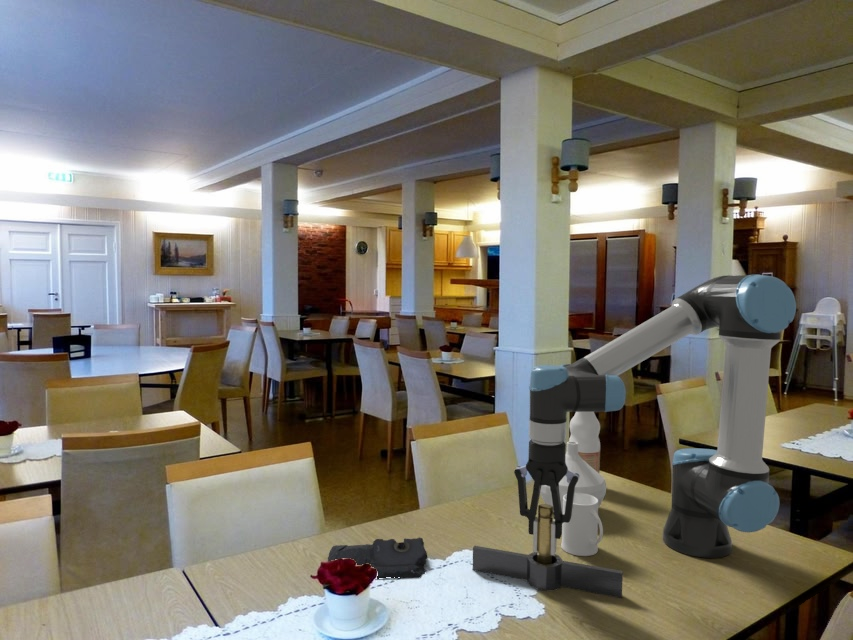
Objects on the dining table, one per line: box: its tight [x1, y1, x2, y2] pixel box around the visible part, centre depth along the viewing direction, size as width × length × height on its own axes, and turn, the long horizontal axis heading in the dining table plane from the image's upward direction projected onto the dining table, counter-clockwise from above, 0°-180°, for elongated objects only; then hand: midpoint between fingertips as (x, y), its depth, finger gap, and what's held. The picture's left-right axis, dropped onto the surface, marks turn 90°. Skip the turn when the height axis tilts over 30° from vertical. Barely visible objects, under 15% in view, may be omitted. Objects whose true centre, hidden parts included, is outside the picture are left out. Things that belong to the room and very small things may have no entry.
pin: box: [537, 503, 554, 565], centre depth 124 cm, size 3×3×15 cm
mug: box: [560, 493, 604, 557], centre depth 139 cm, size 12×8×12 cm
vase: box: [540, 441, 607, 515], centre depth 163 cm, size 18×18×19 cm
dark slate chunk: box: [327, 537, 428, 580], centre depth 133 cm, size 15×22×5 cm
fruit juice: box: [568, 412, 601, 474], centre depth 182 cm, size 9×9×28 cm
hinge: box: [472, 545, 624, 599], centre depth 124 cm, size 31×7×5 cm, turn 69°
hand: (544, 550), depth 124 cm, fingers closed on pin, 3 cm apart
